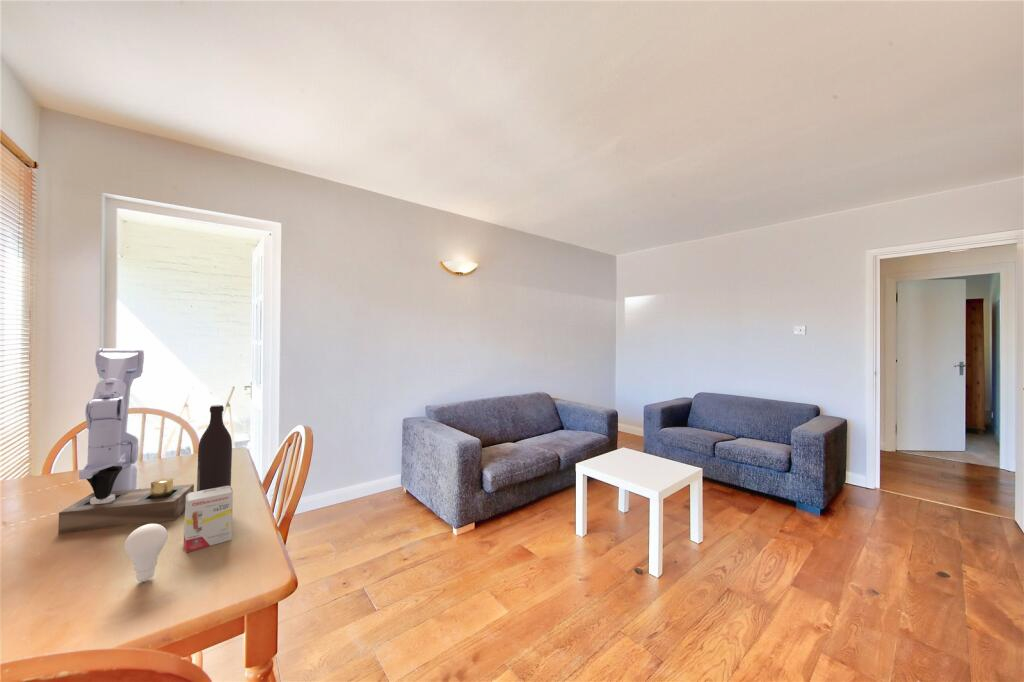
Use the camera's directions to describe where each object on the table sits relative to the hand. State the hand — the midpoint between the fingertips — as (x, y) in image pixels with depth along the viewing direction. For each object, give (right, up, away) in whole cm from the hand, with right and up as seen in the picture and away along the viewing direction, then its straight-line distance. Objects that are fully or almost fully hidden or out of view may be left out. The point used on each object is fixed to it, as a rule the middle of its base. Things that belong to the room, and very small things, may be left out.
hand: (102, 497), depth 97 cm
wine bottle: (+27, -7, +2) cm, 28 cm away
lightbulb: (+34, -7, -23) cm, 41 cm away
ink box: (+34, -7, -9) cm, 36 cm away
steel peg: (0, -5, 0) cm, 5 cm away
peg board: (+5, -6, +2) cm, 8 cm away
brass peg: (+11, -3, +4) cm, 12 cm away
